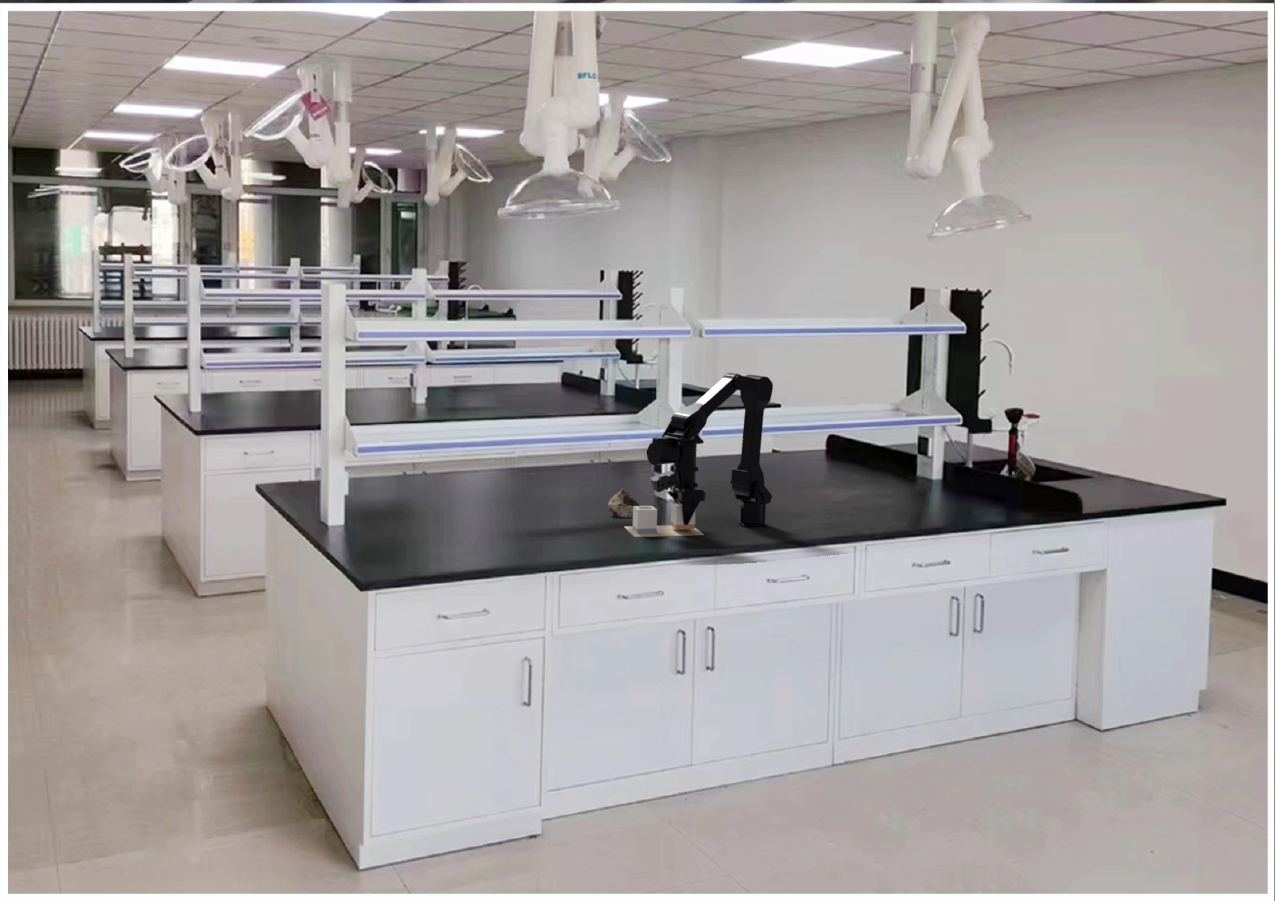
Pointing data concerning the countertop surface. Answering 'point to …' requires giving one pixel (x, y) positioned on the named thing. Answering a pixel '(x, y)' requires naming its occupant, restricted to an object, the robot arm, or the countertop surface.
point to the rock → (622, 504)
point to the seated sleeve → (644, 519)
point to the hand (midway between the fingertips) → (683, 522)
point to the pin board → (666, 532)
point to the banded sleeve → (680, 517)
